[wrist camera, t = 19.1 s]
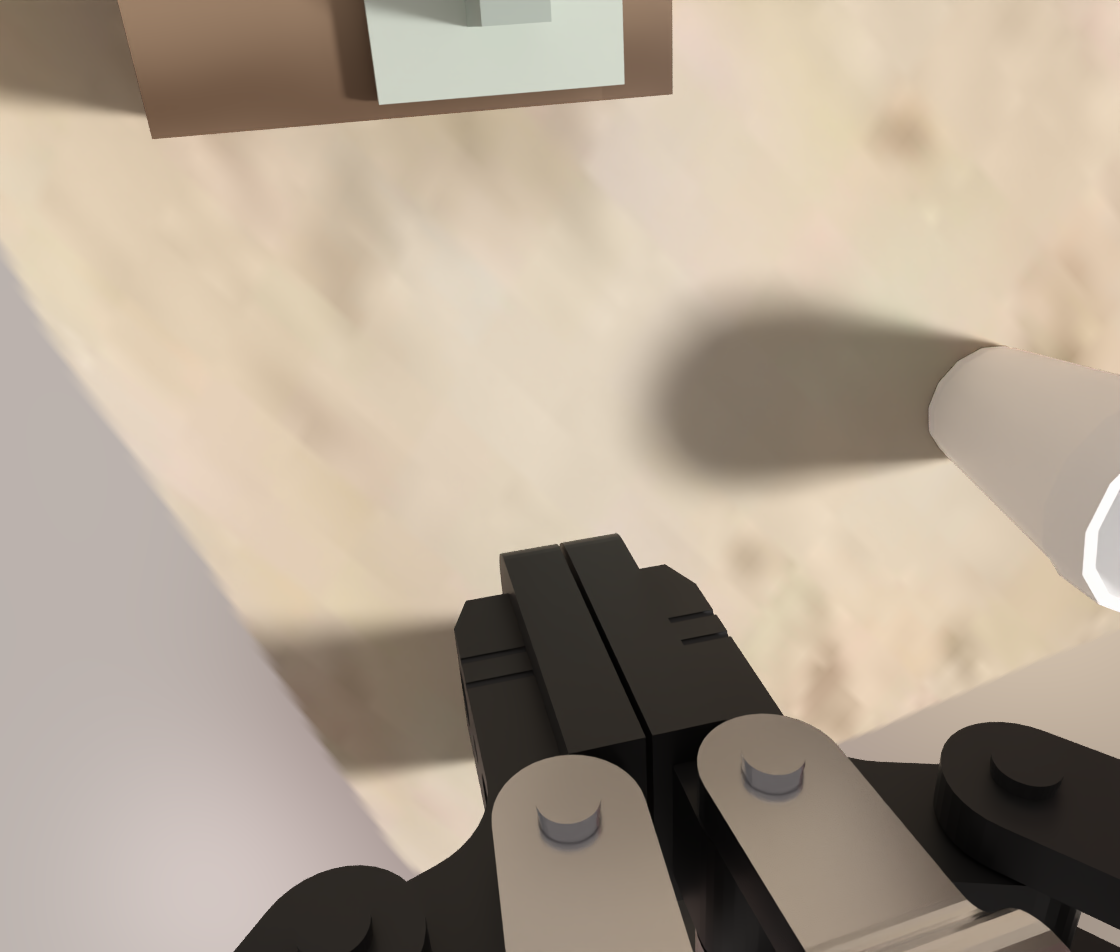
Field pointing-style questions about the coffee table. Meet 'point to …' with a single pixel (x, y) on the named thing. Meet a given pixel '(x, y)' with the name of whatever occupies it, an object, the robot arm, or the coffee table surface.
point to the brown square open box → (320, 65)
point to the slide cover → (492, 47)
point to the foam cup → (1041, 454)
